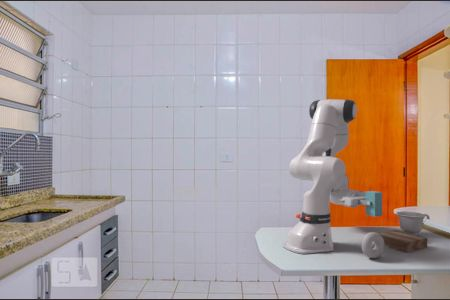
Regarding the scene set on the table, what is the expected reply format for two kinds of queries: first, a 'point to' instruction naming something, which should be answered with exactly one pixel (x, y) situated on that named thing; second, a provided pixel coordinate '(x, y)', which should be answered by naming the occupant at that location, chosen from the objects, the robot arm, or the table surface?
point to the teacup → (411, 221)
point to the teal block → (374, 203)
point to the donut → (377, 248)
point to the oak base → (403, 241)
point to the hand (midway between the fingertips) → (375, 202)
